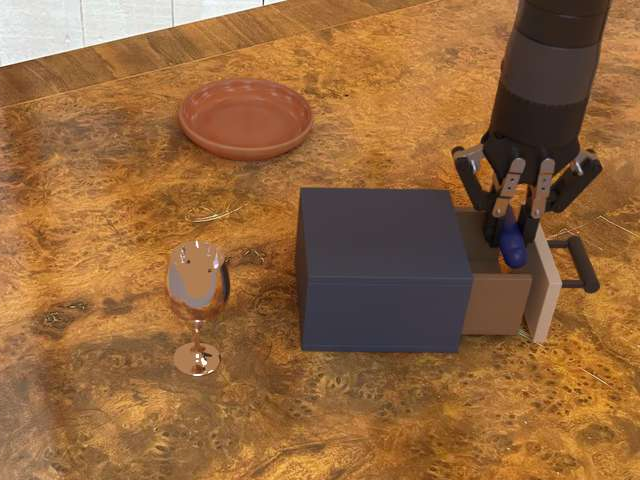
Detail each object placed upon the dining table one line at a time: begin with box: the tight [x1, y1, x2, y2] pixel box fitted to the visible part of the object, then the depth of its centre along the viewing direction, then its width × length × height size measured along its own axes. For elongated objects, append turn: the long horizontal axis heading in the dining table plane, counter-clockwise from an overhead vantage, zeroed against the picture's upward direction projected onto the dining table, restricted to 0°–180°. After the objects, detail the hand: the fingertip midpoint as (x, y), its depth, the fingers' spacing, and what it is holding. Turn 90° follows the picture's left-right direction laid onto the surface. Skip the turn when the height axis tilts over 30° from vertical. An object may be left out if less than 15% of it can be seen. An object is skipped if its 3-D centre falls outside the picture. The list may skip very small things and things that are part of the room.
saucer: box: [178, 77, 315, 162], centre depth 127 cm, size 16×16×3 cm
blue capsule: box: [499, 203, 528, 269], centre depth 99 cm, size 9×2×2 cm, turn 1°
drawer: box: [454, 201, 601, 344], centre depth 102 cm, size 18×12×7 cm
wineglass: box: [163, 240, 231, 377], centre depth 94 cm, size 6×6×12 cm
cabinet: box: [294, 186, 474, 354], centre depth 102 cm, size 15×14×9 cm
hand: (506, 242), depth 100 cm, fingers closed on blue capsule, 2 cm apart
